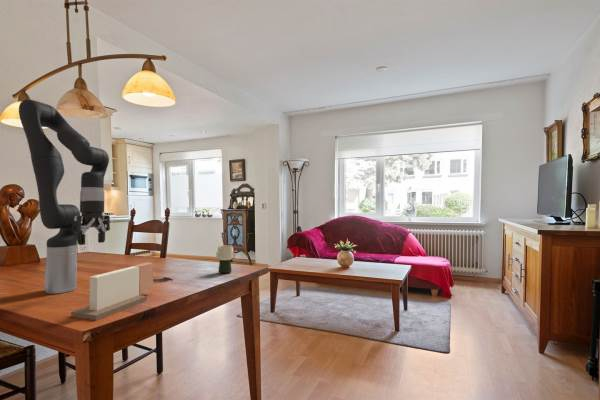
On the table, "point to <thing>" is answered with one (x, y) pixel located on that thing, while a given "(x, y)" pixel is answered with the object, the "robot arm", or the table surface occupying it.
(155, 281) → the parchment
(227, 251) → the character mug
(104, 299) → the stand
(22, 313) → the table surface
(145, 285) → the stub
